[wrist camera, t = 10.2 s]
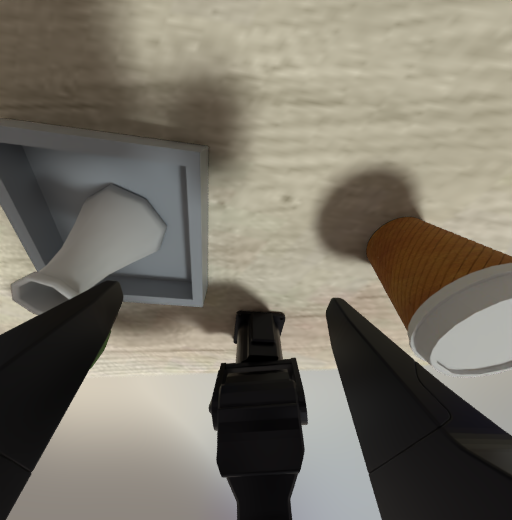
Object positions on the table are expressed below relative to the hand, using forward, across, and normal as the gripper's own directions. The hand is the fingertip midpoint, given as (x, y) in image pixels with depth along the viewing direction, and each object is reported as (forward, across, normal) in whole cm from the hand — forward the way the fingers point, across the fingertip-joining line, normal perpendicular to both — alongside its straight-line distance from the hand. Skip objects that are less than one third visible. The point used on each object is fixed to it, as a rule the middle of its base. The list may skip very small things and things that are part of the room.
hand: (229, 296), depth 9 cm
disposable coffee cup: (+13, -17, +3) cm, 22 cm away
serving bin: (+13, +10, +4) cm, 17 cm away
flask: (+12, +10, +4) cm, 17 cm away
